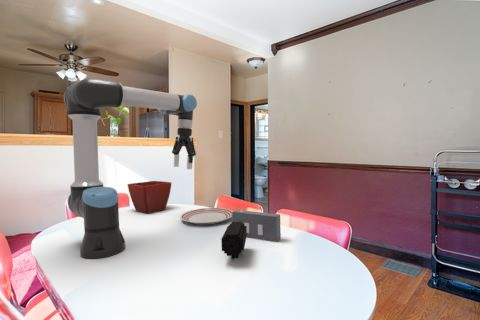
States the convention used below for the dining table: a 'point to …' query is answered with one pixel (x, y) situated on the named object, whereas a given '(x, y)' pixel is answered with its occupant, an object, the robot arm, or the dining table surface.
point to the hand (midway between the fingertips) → (182, 167)
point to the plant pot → (150, 195)
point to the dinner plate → (207, 216)
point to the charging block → (259, 224)
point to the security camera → (234, 239)
